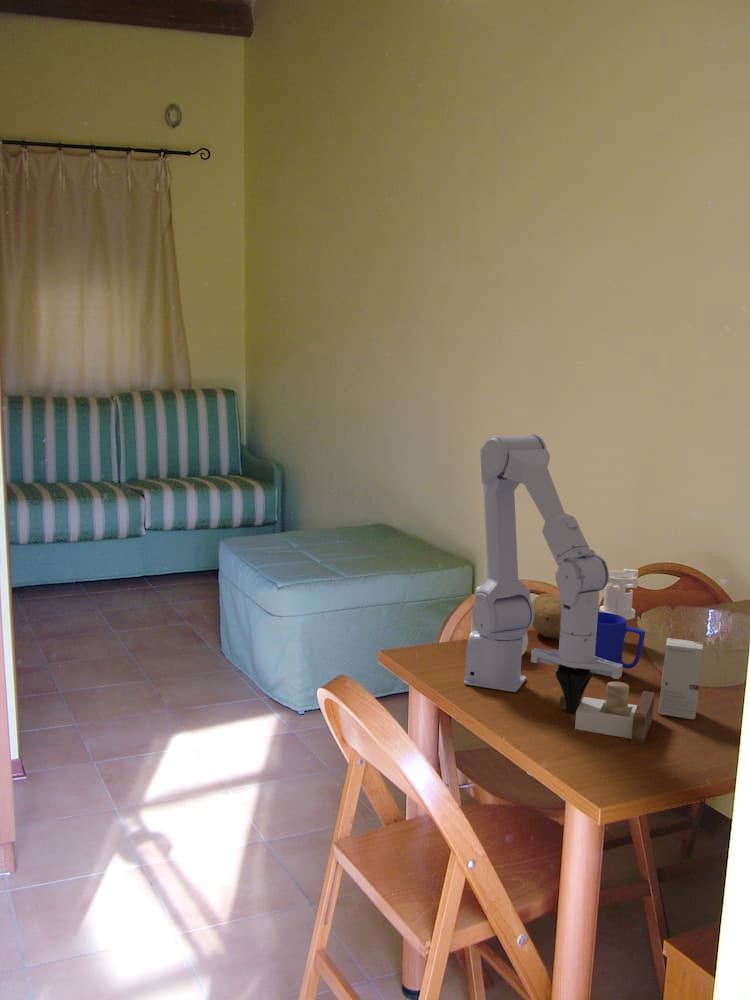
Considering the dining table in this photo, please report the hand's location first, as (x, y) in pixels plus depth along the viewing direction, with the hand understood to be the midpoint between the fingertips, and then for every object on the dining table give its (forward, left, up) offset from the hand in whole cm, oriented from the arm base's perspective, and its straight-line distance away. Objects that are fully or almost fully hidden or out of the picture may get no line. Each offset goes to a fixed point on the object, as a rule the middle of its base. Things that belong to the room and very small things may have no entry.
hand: (572, 712), depth 169 cm
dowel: (+7, 0, -1) cm, 7 cm away
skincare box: (+16, +11, -2) cm, 19 cm away
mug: (+2, +27, -2) cm, 27 cm away
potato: (-12, +44, -2) cm, 46 cm away
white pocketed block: (+6, 0, -1) cm, 6 cm away
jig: (+5, 0, -1) cm, 5 cm away
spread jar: (-20, +31, -2) cm, 37 cm away
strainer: (0, +47, -2) cm, 47 cm away
